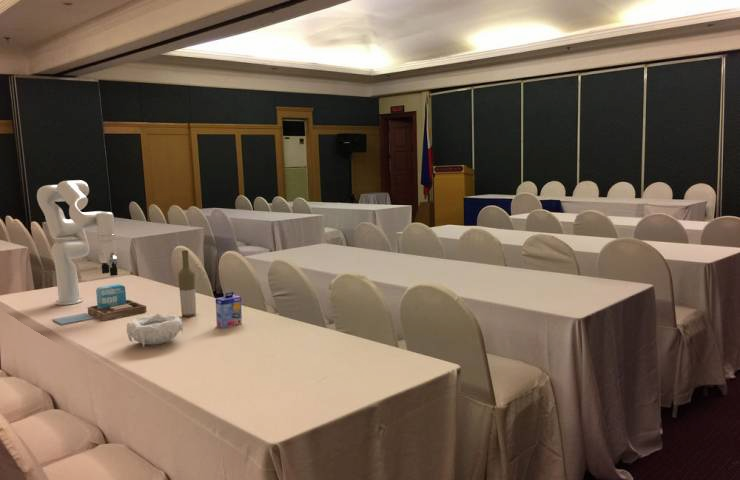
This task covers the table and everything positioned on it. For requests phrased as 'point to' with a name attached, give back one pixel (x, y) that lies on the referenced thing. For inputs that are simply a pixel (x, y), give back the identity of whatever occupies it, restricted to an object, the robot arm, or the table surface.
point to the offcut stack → (120, 308)
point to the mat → (73, 319)
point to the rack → (103, 314)
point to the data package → (110, 295)
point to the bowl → (154, 328)
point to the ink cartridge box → (228, 310)
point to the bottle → (187, 288)
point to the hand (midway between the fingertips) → (109, 274)
